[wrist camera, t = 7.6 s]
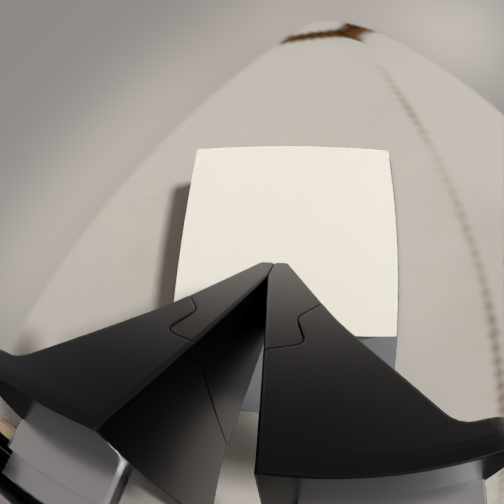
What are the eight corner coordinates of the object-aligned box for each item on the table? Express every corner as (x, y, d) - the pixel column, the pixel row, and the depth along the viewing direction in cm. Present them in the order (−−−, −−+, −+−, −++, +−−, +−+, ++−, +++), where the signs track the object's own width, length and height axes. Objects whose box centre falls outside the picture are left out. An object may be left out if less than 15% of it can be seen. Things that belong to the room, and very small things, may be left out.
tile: (396, 336, 11) (387, 150, 14) (171, 322, 13) (197, 149, 15) (379, 335, 14) (377, 178, 17) (194, 324, 16) (213, 175, 18)
